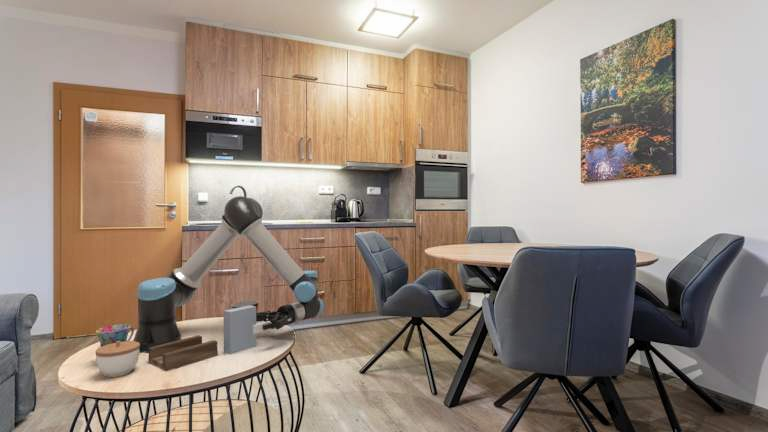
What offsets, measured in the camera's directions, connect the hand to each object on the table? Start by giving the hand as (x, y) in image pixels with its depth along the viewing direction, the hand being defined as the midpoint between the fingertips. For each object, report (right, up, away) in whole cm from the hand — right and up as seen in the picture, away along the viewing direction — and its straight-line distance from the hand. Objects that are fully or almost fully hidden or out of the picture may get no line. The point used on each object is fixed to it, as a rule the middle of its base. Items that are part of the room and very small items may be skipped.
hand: (241, 326), depth 132 cm
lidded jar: (-29, -8, -20) cm, 36 cm away
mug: (-37, -9, -9) cm, 39 cm away
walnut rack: (-16, -8, -8) cm, 19 cm away
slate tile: (0, -8, 0) cm, 8 cm away
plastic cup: (-6, -8, +21) cm, 23 cm away
